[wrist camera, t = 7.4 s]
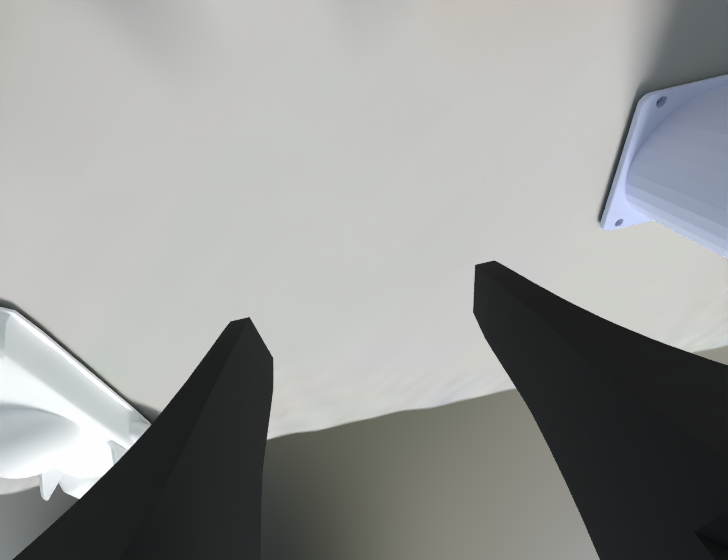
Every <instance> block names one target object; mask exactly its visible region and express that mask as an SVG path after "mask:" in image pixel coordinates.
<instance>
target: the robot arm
mask: <svg viewBox="0 0 728 560" xmlns="http://www.w3.org/2000/svg"><path fill="white" fill-rule="evenodd" d="M659 99H660V101H659V102H658V103H657V101H658V100H659ZM616 221H617V222H616ZM649 221H655V222H657V223H659V224H661V225H663V226H665V227H667V228H669V229H671V230H673V231H675V232H677V233H679V234H681V235H682V236H684V237H686V238H688V239H690V240H692V241H694V242H696V243H698V244H700V245H702V246H704V247H706V248H708V249H710V250H712V251H713V252H715V253H717V254H719V255H721V256H723V257H725V258H727V259H728V74H726V75H721V76H717V77H713V78H709V79H704V80H700V81H696V82H691V83H687V84H683V85H679V86H674V87H670V88H666V89H661V90H657V91H653V92H649V93H647V94H645V95H644V96H643V97H642V98H641V99H640V100H639V102H638V104H637V107H636V110H635V113H634V116H633V120H632V123H631V126H630V129H629V133H628V136H627V139H626V142H625V145H624V149H623V152H622V155H621V158H620V161H619V165H618V168H617V171H616V174H615V177H614V181H613V184H612V187H611V190H610V193H609V197H608V200H607V203H606V206H605V209H604V213H603V216H602V219H601V222H600V227H601V228H602V229H603V230H605V231H610V230H614V229H618V228H623V227H627V226H631V225H636V224H640V223H644V222H649ZM473 313H474V315H475V317H476V319H477V322H478V324H479V326H480V328H481V330H482V332H483V334H484V337H485V339H486V340H487V342H488V344H489V345H490V347H491V349H492V350H493V352H494V353H495V355H496V357H497V358H498V360H499V361H500V363H501V364H502V366H503V368H504V369H505V371H506V372H507V374H508V376H509V377H510V379H511V380H512V382H513V383H514V385H515V387H516V388H517V390H518V391H519V393H520V394H521V396H522V397H523V399H524V401H525V403H526V404H527V406H528V408H529V409H530V411H531V413H532V415H533V416H534V418H535V421H536V422H537V424H538V426H539V428H540V430H541V432H542V434H543V436H544V438H545V440H546V442H547V444H548V446H549V448H550V450H551V452H552V454H553V457H554V458H555V461H556V463H557V464H558V467H559V469H560V471H561V473H562V475H563V477H564V479H565V482H566V484H567V486H568V488H569V490H570V492H571V495H572V497H573V499H574V501H575V504H576V506H577V508H578V510H579V512H580V514H581V517H582V519H583V521H584V523H585V525H586V528H587V530H588V533H589V535H590V537H591V540H592V542H593V545H594V547H595V549H596V552H597V554H598V556H599V558H600V560H728V365H725V364H722V363H719V362H715V361H712V360H709V359H706V358H704V357H701V356H698V355H695V354H692V353H689V352H686V351H684V350H681V349H678V348H675V347H672V346H669V345H667V344H664V343H661V342H659V341H656V340H653V339H651V338H648V337H646V336H643V335H641V334H639V333H636V332H634V331H631V330H629V329H626V328H624V327H622V326H619V325H617V324H615V323H612V322H610V321H608V320H606V319H603V318H601V317H599V316H597V315H595V314H593V313H591V312H589V311H587V310H585V309H582V308H580V307H578V306H576V305H574V304H572V303H570V302H568V301H567V300H565V299H563V298H561V297H559V296H557V295H555V294H553V293H551V292H550V291H548V290H546V289H544V288H542V287H540V286H539V285H537V284H535V283H533V282H532V281H530V280H528V279H526V278H525V277H523V276H521V275H519V274H518V273H516V272H514V271H512V270H511V269H509V268H507V267H505V266H504V265H502V264H500V263H498V262H496V261H490V262H486V263H482V264H477V265H475V283H474V307H473ZM272 394H273V357H272V355H271V354H270V352H269V350H268V348H267V347H266V345H265V343H264V342H263V340H262V338H261V336H260V335H259V333H258V331H257V329H256V328H255V326H254V324H253V322H252V321H251V319H250V317H248V318H244V319H239V320H235V321H231V322H230V323H229V324H228V325H227V327H226V328H225V329H224V331H223V332H222V333H221V335H220V336H219V338H218V339H217V340H216V342H215V343H214V344H213V346H212V347H211V349H210V350H209V351H208V353H207V354H206V356H205V357H204V358H203V360H202V361H201V362H200V364H199V365H198V366H197V368H196V369H195V371H194V372H193V373H192V375H191V376H190V377H189V379H188V380H187V381H186V383H185V384H184V385H183V386H182V388H181V389H180V390H179V391H178V393H177V394H176V395H175V396H174V398H173V399H172V400H171V401H170V403H169V404H168V405H167V406H166V408H165V409H164V410H163V411H162V413H161V414H160V415H159V416H158V417H157V419H156V420H155V421H154V422H153V423H152V424H151V425H150V427H149V428H148V429H147V430H146V431H145V432H144V433H143V435H142V436H141V437H140V438H139V439H138V440H137V441H136V442H135V443H134V444H133V445H132V447H131V448H130V449H129V450H128V451H127V452H126V453H125V454H124V455H123V456H122V457H121V458H120V459H119V460H118V461H117V462H116V463H115V464H114V465H113V466H112V467H111V468H110V469H109V470H108V471H107V472H106V473H105V474H104V475H103V476H102V477H101V478H100V479H99V480H98V481H97V482H96V483H95V484H94V485H93V486H92V487H91V488H90V489H89V490H88V491H87V492H86V493H85V494H84V495H83V496H82V497H81V498H80V499H79V500H78V501H77V502H76V503H75V504H74V505H73V506H72V507H71V508H70V509H68V511H66V512H65V513H64V514H63V515H62V516H61V517H60V518H59V519H58V520H57V521H55V523H53V524H52V525H51V526H50V527H49V528H48V529H47V530H46V531H44V532H43V533H42V534H41V535H40V536H39V537H38V538H36V539H35V540H34V541H33V542H32V543H31V544H30V545H29V546H27V547H26V548H25V549H24V550H23V551H22V552H21V553H20V554H18V555H17V556H16V557H15V558H14V559H13V560H260V537H261V536H260V535H261V533H260V532H261V495H262V472H263V462H264V454H265V447H266V439H267V432H268V425H269V417H270V410H271V402H272Z"/></svg>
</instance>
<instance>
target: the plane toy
mask: <svg viewBox="0 0 728 560" xmlns="http://www.w3.org/2000/svg"><path fill="white" fill-rule="evenodd" d="M150 425H151V423H150V422H149V421H148V420H147V419H145V418H144V417H143V416H142V415H141V414H140V413H139V412H138V411H137V410H136V409H134V408H133V407H132V406H131V405H130V404H128V403H127V402H126V401H125V400H124V399H123V398H121V397H120V396H119V395H118V394H117V393H115V392H114V391H113V390H112V389H111V388H110V387H108V386H107V385H106V384H105V383H104V382H102V381H101V380H100V379H99V378H98V377H96V376H95V375H94V374H93V373H92V372H91V371H89V370H88V369H87V368H86V367H85V366H83V365H82V364H81V363H80V362H79V361H77V360H76V359H75V358H74V357H73V356H71V355H70V354H69V353H68V352H67V351H65V350H64V349H63V348H62V347H61V346H60V345H58V344H57V343H56V342H55V341H54V340H53V339H51V338H50V337H49V336H48V335H47V334H46V333H44V332H43V331H42V330H41V329H39V328H38V327H37V326H35V325H34V324H33V323H31V322H30V321H29V320H27V319H26V318H25V317H23V316H22V315H21V314H20V313H18V312H17V311H16V310H12V309H8V308H3V307H0V477H3V478H26V477H31V476H35V475H38V474H39V483H40V491H41V495H42V497H43V499H45V500H48V499H49V497H50V496H51V494H52V492H53V491H54V489H55V487H56V486H57V484H58V483H59V484H60V486H61V487H62V489H63V491H64V492H66V493H67V494H70V495H72V496H74V497H76V498H78V499H80V498H81V497H82V496H83V495H84V494H85V493H86V492H87V491H88V490H89V489H90V488H91V487H92V486H93V485H94V484H95V483H96V482H97V481H98V480H99V479H100V478H101V477H102V476H103V475H104V474H105V473H106V472H107V471H108V470H109V469H110V468H111V467H112V466H113V465H114V464H115V463H116V462H117V461H118V460H119V459H120V458H121V457H122V456H123V455H124V454H125V453H126V452H127V451H128V450H129V449H130V448H131V447H132V445H133V444H134V443H135V442H136V441H137V440H138V439H139V438H140V437H141V436H142V435H143V433H144V432H145V431H146V430H147V429H148V428H149V427H150Z"/></svg>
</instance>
